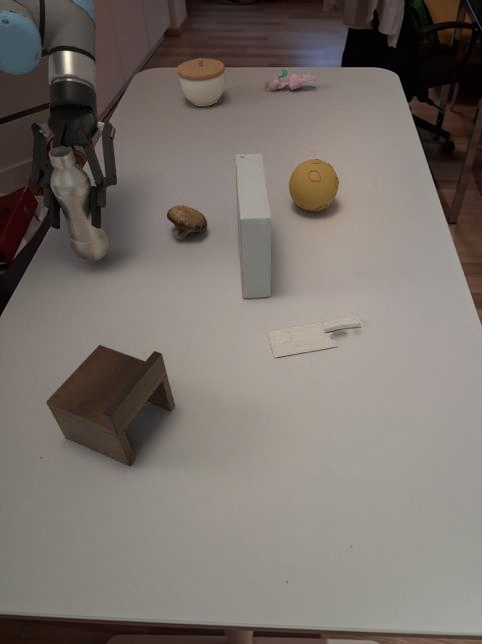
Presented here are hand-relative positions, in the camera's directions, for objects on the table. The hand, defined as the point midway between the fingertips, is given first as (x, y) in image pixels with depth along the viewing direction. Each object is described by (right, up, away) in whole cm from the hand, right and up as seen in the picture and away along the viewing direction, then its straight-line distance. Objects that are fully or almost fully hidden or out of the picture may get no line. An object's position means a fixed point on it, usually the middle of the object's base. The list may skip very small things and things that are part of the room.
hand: (75, 227), depth 91 cm
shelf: (+12, -31, -15) cm, 36 cm away
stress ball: (+42, +9, +20) cm, 47 cm away
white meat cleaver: (+40, -19, -6) cm, 45 cm away
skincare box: (+30, -5, +9) cm, 32 cm away
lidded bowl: (+15, +48, +59) cm, 78 cm away
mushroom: (+17, +2, +16) cm, 23 cm away
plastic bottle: (0, -3, +9) cm, 9 cm away
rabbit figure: (+40, +53, +62) cm, 91 cm away
